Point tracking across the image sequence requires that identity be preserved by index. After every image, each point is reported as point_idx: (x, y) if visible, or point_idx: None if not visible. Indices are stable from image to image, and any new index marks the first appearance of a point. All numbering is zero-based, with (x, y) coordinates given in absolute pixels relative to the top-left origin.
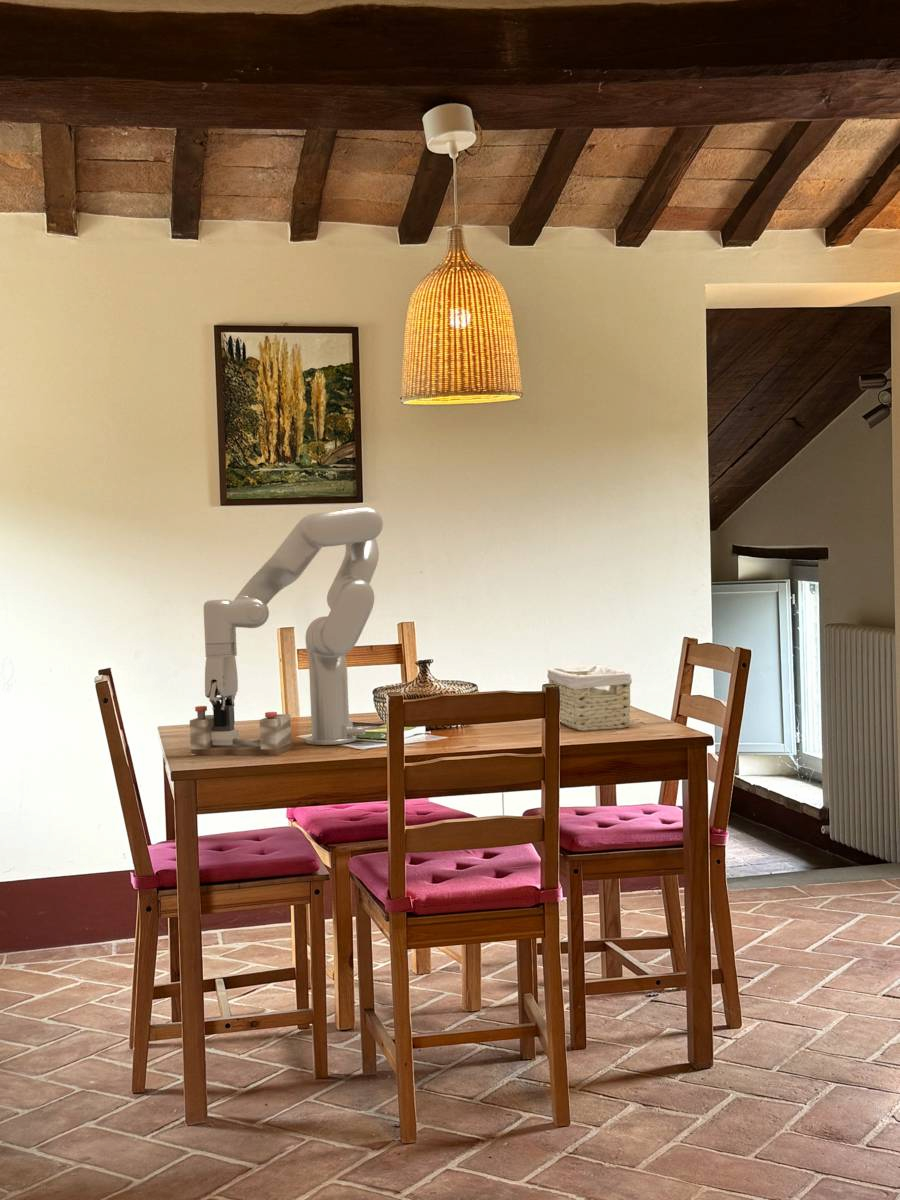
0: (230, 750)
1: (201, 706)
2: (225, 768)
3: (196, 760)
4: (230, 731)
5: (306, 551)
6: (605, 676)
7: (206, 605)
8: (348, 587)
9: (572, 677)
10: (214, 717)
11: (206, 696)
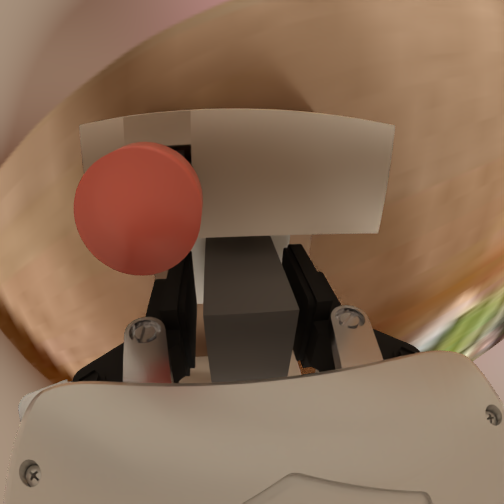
0: (156, 276)
1: (150, 214)
2: (11, 323)
3: (55, 197)
4: (202, 299)
5: None
6: None
7: None
8: None
9: None
10: (167, 281)
11: (41, 395)
